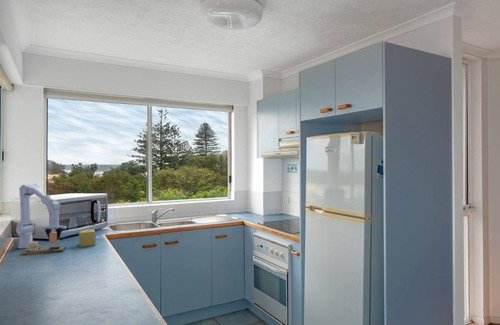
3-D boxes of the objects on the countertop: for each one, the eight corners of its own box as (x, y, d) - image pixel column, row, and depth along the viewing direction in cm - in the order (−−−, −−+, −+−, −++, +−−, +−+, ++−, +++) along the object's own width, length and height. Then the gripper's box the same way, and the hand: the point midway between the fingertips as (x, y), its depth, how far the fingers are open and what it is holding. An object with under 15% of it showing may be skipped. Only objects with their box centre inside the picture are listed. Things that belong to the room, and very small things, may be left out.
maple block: (30, 251, 229) (30, 241, 229) (38, 251, 230) (38, 241, 230) (28, 253, 225) (28, 243, 224) (36, 252, 226) (36, 242, 226)
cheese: (79, 243, 250) (79, 230, 250) (95, 242, 255) (95, 228, 255) (78, 247, 241) (78, 232, 241) (95, 245, 245) (95, 231, 245)
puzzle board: (25, 250, 231) (25, 248, 231) (65, 247, 238) (65, 245, 238) (20, 255, 220) (20, 252, 220) (62, 251, 228) (62, 249, 228)
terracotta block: (51, 241, 233) (51, 232, 233) (59, 241, 234) (59, 231, 234) (49, 243, 229) (49, 233, 229) (56, 243, 229) (56, 233, 229)
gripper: (67, 218, 236) (67, 238, 236) (44, 218, 234) (44, 238, 234) (64, 220, 229) (64, 240, 229) (40, 220, 227) (40, 241, 227)
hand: (54, 239), depth 231 cm, fingers closed on terracotta block, 4 cm apart
